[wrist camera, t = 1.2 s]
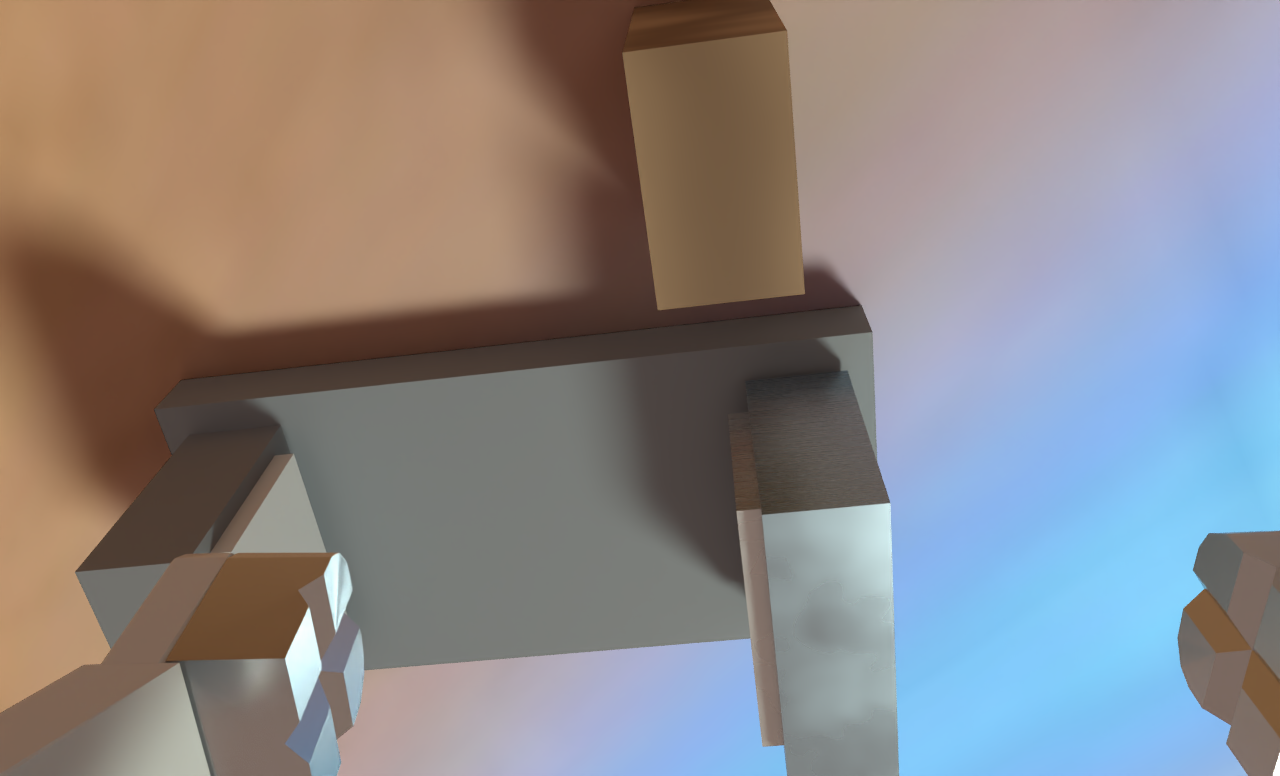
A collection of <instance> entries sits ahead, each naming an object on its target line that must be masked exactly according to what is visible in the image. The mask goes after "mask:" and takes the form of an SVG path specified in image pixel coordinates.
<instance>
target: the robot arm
mask: <svg viewBox="0 0 1280 776" xmlns="http://www.w3.org/2000/svg"><path fill="white" fill-rule="evenodd" d="M1193 571H1194V573H1195V574H1196V576H1197V577H1198V579H1199V581H1200V582H1201V584H1202V585H1203V587H1204V590H1203V591H1202V592H1201V593H1200V594H1199V595H1197V596H1196V597H1195V598H1194V599H1193V600H1192V601H1191V602H1190V603H1189V604H1188V605H1187V606H1186V607H1185V608H1184V609H1183V613H1182V618H1181V623H1180V628H1179V633H1178V646H1179V655H1180V664H1181V668H1182V671H1183V673H1184V676H1185V679H1186V681H1187V684H1188V687H1189V689H1190V690H1191V692H1192V693H1193V695H1194V696H1195V698H1196V699H1197V701H1198V702H1199V704H1200V706H1201V707H1202V708H1203V709H1205V710H1207V711H1208V712H1210V713H1212V714H1213V715H1215V716H1217V717H1218V718H1220V719H1222V720H1223V721H1225V722H1226V723H1228V724H1230V725H1231V728H1230V731H1229V735H1228V739H1227V743H1226V744H1227V745H1228V747H1229V748H1230V750H1231V751H1232V753H1233V754H1234V756H1235V757H1236V759H1237V760H1238V761H1239V763H1240V764H1241V766H1242V767H1243V769H1244V770H1245V772H1246V773H1247V775H1248V776H1280V531H1257V532H1231V533H1209V534H1208V535H1207V537H1206V538H1205V540H1204V541H1203V542H1202V544H1201V545H1200V547H1199V549H1198V553H1197V557H1196V560H1195V564H1194V568H1193ZM352 591H353V588H352V583H351V579H350V574H349V569H348V565H347V561H346V560H345V558H344V557H343V556H342V555H341V554H340V553H339V552H337V553H237V554H233V553H201V554H185V555H182V556H179V557H177V558H175V559H174V560H173V561H172V562H171V563H170V565H169V566H168V568H167V569H166V571H165V572H164V573H163V575H162V576H161V578H160V579H159V581H158V582H157V584H156V585H155V586H154V588H153V589H152V591H151V592H150V594H149V595H148V597H147V598H146V599H145V601H144V602H143V604H142V605H141V607H140V608H139V610H138V611H137V612H136V614H135V615H134V617H133V618H132V620H131V621H130V623H129V624H128V626H127V627H126V628H125V630H124V631H123V633H122V634H121V636H120V637H119V639H118V640H117V641H116V643H115V644H114V646H113V647H112V649H111V650H110V652H109V653H108V654H107V656H106V657H105V659H104V660H103V662H102V663H101V664H94V665H83V666H81V667H79V668H78V669H76V670H74V671H72V672H71V673H69V674H67V675H65V676H64V677H62V678H60V679H58V680H57V681H55V682H53V683H52V684H50V685H48V686H46V687H45V688H43V689H41V690H39V691H38V692H36V693H34V694H32V695H31V696H29V697H27V698H26V699H24V700H22V701H20V702H19V703H17V704H15V705H13V706H12V707H10V708H8V709H6V710H5V711H3V712H1V713H0V776H337V773H338V770H339V767H340V764H341V760H340V755H339V750H338V744H337V739H338V738H339V737H340V736H342V735H343V734H344V733H345V732H347V731H348V730H349V729H350V728H352V727H353V725H354V722H355V719H356V716H357V712H358V709H359V706H360V703H361V695H362V687H363V679H364V655H363V644H362V638H361V632H360V627H359V626H358V625H357V624H356V623H354V622H353V621H352V620H351V619H350V618H349V617H348V616H347V615H346V614H345V613H344V611H345V609H346V606H347V603H348V601H349V598H350V596H351V593H352Z"/></svg>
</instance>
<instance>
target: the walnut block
mask: <svg viewBox="0 0 1280 776" xmlns="http://www.w3.org/2000/svg"><path fill="white" fill-rule="evenodd" d="M622 55H623V62H624V69H625V77H626V84H627V91H628V98H629V106H630V113H631V120H632V127H633V135H634V142H635V149H636V156H637V164H638V171H639V178H640V185H641V193H642V200H643V207H644V215H645V222H646V229H647V236H648V244H649V251H650V258H651V265H652V273H653V280H654V287H655V294H656V302H657V309H658V310H666V309H675V308H684V307H693V306H702V305H711V304H720V303H729V302H738V301H747V300H756V299H765V298H774V297H783V296H792V295H801V294H805V288H804V273H803V259H802V244H801V229H800V214H799V200H798V185H797V170H796V156H795V141H794V126H793V112H792V97H791V82H790V68H789V53H788V38H787V30H786V28H785V26H784V25H783V23H782V21H781V19H780V18H779V16H778V14H777V12H776V11H775V9H774V7H773V6H772V4H771V2H770V0H686V1H679V2H672V3H664V4H657V5H650V6H643V7H635V8H634V11H633V15H632V19H631V22H630V26H629V30H628V33H627V37H626V41H625V44H624V48H623V52H622Z"/></svg>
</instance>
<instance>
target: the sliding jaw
mask: <svg viewBox="0 0 1280 776" xmlns="http://www.w3.org/2000/svg"><path fill="white" fill-rule="evenodd" d="M745 384H746V394H747V404H748V412H743V413H733V414H728V420H729V431H730V443H731V454H732V466H733V477H734V489H735V500H736V512H737V521H738V530H739V539H740V548H741V557H742V566H743V575H744V584H745V593H746V602H747V611H748V620H749V629H750V638H751V647H752V656H753V665H754V674H755V683H756V692H757V701H758V710H759V719H760V728H761V737H762V746H763V747H764V746H778V745H784V752H785V760H786V769H787V776H899V763H898V732H897V700H896V668H895V636H894V604H893V573H892V541H891V509H890V501H889V497H888V494H887V491H886V488H885V485H884V482H883V479H882V476H881V473H880V469H879V466H878V463H877V460H876V457H875V454H874V451H873V448H872V445H871V442H870V438H869V435H868V432H867V429H866V426H865V423H864V420H863V417H862V414H861V411H860V407H859V404H858V401H857V398H856V395H855V392H854V389H853V386H852V383H851V379H850V376H849V373H848V370H845V371H836V372H826V373H817V374H807V375H798V376H788V377H778V378H769V379H759V380H750V381H745Z"/></svg>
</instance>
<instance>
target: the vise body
mask: <svg viewBox="0 0 1280 776" xmlns="http://www.w3.org/2000/svg"><path fill="white" fill-rule="evenodd" d="M845 370H848V373H849V376H850V379H851V383H852V386H853V389H854V392H855V395H856V398H857V401H858V404H859V407H860V411H861V414H862V417H863V420H864V423H865V426H866V429H867V432H868V435H869V438H870V442H871V445H872V448H873V451H874V454H875V457H876V460H877V445H876V418H875V391H874V364H873V338H872V330H871V328H870V325H869V323H868V320H867V318H866V315H865V313H864V310H863V308H862V305H861V306H852V307H843V308H833V309H824V310H815V311H806V312H797V313H788V314H779V315H770V316H761V317H752V318H743V319H733V320H724V321H715V322H706V323H697V324H688V325H679V326H670V327H661V328H652V329H643V330H633V331H624V332H615V333H606V334H597V335H588V336H579V337H570V338H561V339H552V340H543V341H534V342H524V343H515V344H506V345H497V346H488V347H479V348H470V349H461V350H452V351H443V352H434V353H424V354H415V355H406V356H397V357H388V358H379V359H370V360H361V361H352V362H343V363H334V364H324V365H315V366H306V367H297V368H288V369H279V370H270V371H261V372H252V373H243V374H234V375H224V376H215V377H206V378H197V379H188V380H181V381H180V382H179V383H178V384H177V385H176V386H175V387H174V388H173V390H172V391H171V392H170V393H169V394H168V395H167V396H166V397H165V398H164V399H163V400H162V401H161V402H160V403H159V405H158V406H157V407H156V408H155V409H154V411H155V414H156V416H157V419H158V421H159V424H160V426H161V429H162V431H163V434H164V436H165V439H166V442H167V444H168V447H169V449H170V452H171V454H172V456H171V457H170V458H169V460H168V461H167V462H166V463H165V464H164V466H163V467H162V468H161V469H160V470H159V472H158V473H157V474H156V475H155V476H154V478H153V479H152V480H151V481H150V482H149V484H148V485H147V486H146V487H145V488H144V490H143V491H142V492H141V493H140V494H139V496H138V497H137V498H136V499H135V500H134V502H133V503H132V504H131V505H130V507H129V508H128V509H127V510H126V511H125V513H124V514H123V515H122V516H121V517H120V519H119V520H118V521H117V522H116V523H115V525H114V526H113V527H112V528H111V529H110V531H109V532H108V533H107V534H106V535H105V537H104V538H103V539H102V540H101V541H100V543H99V544H98V545H97V546H96V547H95V549H94V550H93V551H92V552H91V553H90V555H89V556H88V557H87V558H86V559H85V561H84V562H83V563H82V564H81V565H80V567H79V568H78V569H77V570H76V572H75V573H76V575H77V577H78V580H79V582H80V584H81V586H82V588H83V590H84V592H85V595H86V597H87V599H88V601H89V603H90V605H91V607H92V610H93V612H94V614H95V616H96V618H97V620H98V622H99V624H100V627H101V629H102V631H103V633H104V635H105V637H106V639H107V642H108V644H109V646H110V648H111V649H112V647H113V646H114V644H115V643H116V641H117V640H118V639H119V637H120V636H121V634H122V633H123V631H124V630H125V628H126V627H127V626H128V624H129V623H130V621H131V620H132V618H133V617H134V615H135V614H136V612H137V611H138V610H139V608H140V607H141V605H142V604H143V602H144V601H145V599H146V598H147V597H148V595H149V594H150V592H151V591H152V589H153V588H154V586H155V585H156V584H157V582H158V581H159V579H160V578H161V576H162V575H163V573H164V572H165V571H166V569H167V568H168V566H169V565H170V563H171V562H172V561H173V560H174V559H175V558H177V557H179V556H182V555H185V554H201V553H233V554H237V553H337V552H339V553H340V554H341V555H342V556H343V557H344V558H345V560H346V561H347V565H348V569H349V574H350V579H351V583H352V588H353V591H352V593H351V596H350V598H349V601H348V603H347V606H346V609H345V611H344V613H345V614H346V615H347V616H348V617H349V618H350V619H351V620H352V621H353V622H354V623H356V624H357V625H358V626H359V627H360V632H361V638H362V644H363V655H364V670H373V669H385V668H397V667H409V666H421V665H433V664H445V663H458V662H470V661H482V660H494V659H506V658H518V657H530V656H542V655H555V654H567V653H579V652H591V651H603V650H615V649H627V648H639V647H651V646H664V645H676V644H688V643H700V642H712V641H724V640H736V639H748V638H750V629H749V620H748V611H747V602H746V593H745V584H744V575H743V566H742V557H741V548H740V539H739V530H738V521H737V512H736V500H735V489H734V477H733V466H732V454H731V443H730V431H729V420H728V414H733V413H743V412H748V404H747V394H746V384H745V381H750V380H759V379H769V378H778V377H788V376H798V375H807V374H817V373H826V372H836V371H845Z"/></svg>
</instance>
